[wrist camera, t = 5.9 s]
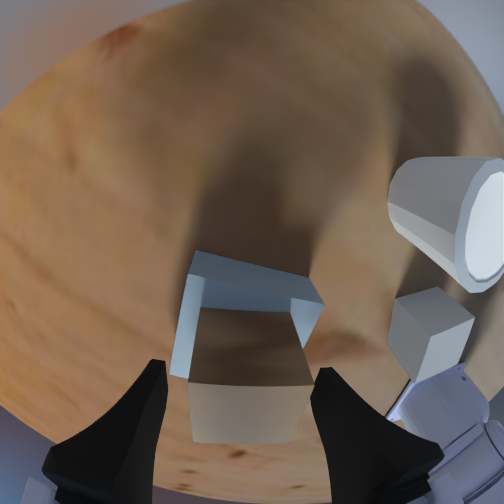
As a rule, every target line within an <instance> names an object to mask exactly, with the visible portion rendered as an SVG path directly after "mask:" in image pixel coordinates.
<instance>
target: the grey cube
mask: <svg viewBox="0 0 504 504" xmlns="http://www.w3.org/2000/svg"><path fill="white" fill-rule="evenodd" d="M474 319H475V317H474V316H473V315H472V314H471V313H470V312H468V311H467V310H466V309H465V308H464V307H463V306H461V305H460V304H459V303H458V302H457V301H455V300H454V299H453V298H452V297H450V296H449V295H448V294H447V293H446V292H444V291H443V290H442V289H440V288H439V287H438V286H437V287H433V288H430V289H427V290H423V291H420V292H416V293H413V294H409V295H406V296H402V297H398V298H395V300H394V306H393V312H392V318H391V324H390V329H389V335H388V340H387V346H388V347H389V349H390V350H391V351H392V353H393V354H394V356H395V357H396V358H397V360H398V361H399V363H400V364H401V366H402V367H403V368H404V370H405V371H406V373H407V374H408V376H409V377H410V379H411V380H412V382H413V383H414V384H416V383H418V382H421V381H423V380H425V379H428V378H430V377H432V376H434V375H436V374H438V373H440V372H443V371H445V370H447V369H449V368H451V367H453V366H454V365H456V364H458V361H459V359H460V357H461V354H462V352H463V349H464V347H465V344H466V342H467V339H468V336H469V334H470V331H471V328H472V325H473V322H474Z"/></svg>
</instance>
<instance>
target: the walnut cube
mask: <svg viewBox="0 0 504 504" xmlns="http://www.w3.org/2000/svg"><path fill="white" fill-rule="evenodd" d="M314 386H315V384H314V381H313V378H312V375H311V372H310V369H309V366H308V363H307V360H306V357H305V354H304V351H303V348H302V345H301V342H300V339H299V336H298V334H297V331H296V328H295V325H294V322H293V319H292V316H291V313H287V312H263V311H245V310H230V309H216V308H203V307H200V312H199V317H198V323H197V329H196V334H195V340H194V346H193V352H192V358H191V365H190V371H189V378H188V393H189V405H190V417H191V427H192V437H193V442H203V443H217V444H281V443H290V441H291V439H292V437H293V435H294V432H295V430H296V428H297V426H298V424H299V421H300V419H301V417H302V415H303V412H304V410H305V408H306V405H307V403H308V401H309V398H310V396H311V393H312V391H313V388H314Z"/></svg>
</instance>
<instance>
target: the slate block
mask: <svg viewBox="0 0 504 504" xmlns="http://www.w3.org/2000/svg"><path fill="white" fill-rule="evenodd" d="M324 305H325V304H324V302H323V301H322V299H321V297H320V295H319V294H318V292H317V290H316V289H315V287H314V285H313V284H312V282H311V280H310V279H309V278H308V277H304V276H300V275H296V274H292V273H288V272H283V271H279V270H275V269H271V268H267V267H263V266H259V265H255V264H251V263H247V262H243V261H238V260H234V259H230V258H226V257H222V256H218V255H214V254H210V253H206V252H202V251H198V250H196V251H195V254H194V257H193V260H192V263H191V266H190V269H189V272H188V276H187V281H186V286H185V290H184V295H183V300H182V305H181V310H180V316H179V321H178V326H177V332H176V337H175V343H174V349H173V355H172V361H171V367H170V375H174V376H179V377H183V378H189V371H190V365H191V358H192V352H193V346H194V340H195V334H196V329H197V323H198V317H199V312H200V307H203V308H216V309H230V310H245V311H263V312H287V313H291V316H292V319H293V322H294V325H295V328H296V331H297V334H298V336H299V339H300V342H301V345H302V348H304V346H305V344H306V342H307V340H308V338H309V336H310V334H311V332H312V330H313V328H314V326H315V324H316V322H317V320H318V318H319V315H320V313H321V311H322V309H323V307H324Z"/></svg>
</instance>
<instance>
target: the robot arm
mask: <svg viewBox="0 0 504 504" xmlns="http://www.w3.org/2000/svg"><path fill="white" fill-rule="evenodd" d="M465 366H466V363H465V362H463V363H459V364H456V365H454V366H453V367H451V368H449V369H447V370H445V371H443V372H440V373H438V374H436V375H434V376H432V377H430V378H428V379H425V380H423V381H421V382H418V383H416V384H414V383H413V382H412V380H411V381H410V382H409V384H408V385H407V387H406V389H405V390H404V392H403V393H402V395H401V396H400V398H399V399H398V401H397V402H396V404H395V405H394V406H393V408H392V409H391V411H390V412H389V413H388V415H387V416H386V417H384V416H382V415H381V414H380V413H378V412H377V411H376V410H374V409H373V408H372V407H371V406H370V405H369V404H368V403H366V402H365V401H364V400H363V399H362V398H361V397H360V396H359V395H358V394H357V393H356V392H355V391H354V390H353V389H352V388H351V387H350V386H349V385H348V384H347V383H346V382H345V381H344V380H343V378H342V377H341V376H340V375H339V374H338V373H337V372H336V371H335V370H334V369H333V368H332V367H328V368H320V370H319V373H318V375H317V378H316V380H315V383H314V384H315V386H314V388H313V391H312V393H311V396H310V400H311V406H312V412H313V415H314V419H315V422H316V425H317V428H318V431H319V434H320V437H321V440H322V443H323V446H324V450H325V454H326V459H327V464H328V470H329V477H330V485H331V495H332V504H504V472H502V474H500V475H499V476H498V477H497V478H495V479H494V480H493V481H492V482H491V483H489V484H488V485H487V486H485V487H484V488H483V489H481V490H480V491H479V492H477V493H476V494H474V495H473V496H472V497H470V498H469V499H467V500H465V501H463V500H464V499H466V498H468V497H469V496H470V495H472V494H473V493H474V492H476V491H477V490H479V489H480V488H481V487H483V486H484V485H485V484H487V483H488V482H489V481H490V480H492V479H493V478H494V477H495V476H497V475H498V474H499V473H500V472H501V471H502V470H504V427H503V426H502V425H501V424H500V423H499V422H498V421H497V420H489V421H488V422H487V420H488V417H489V405H488V401H487V399H486V398H485V396H484V395H483V394H482V392H481V391H480V390H479V389H478V387H477V386H476V385H475V384H474V382H473V381H472V380H471V379H470V378H469V376H468V375H467V374H466V373H465V372H464V368H465ZM167 395H168V383H167V374H166V364H165V361H162V360H155V359H152V360H150V361H149V363H148V365H147V366H146V367H145V369H144V370H143V372H142V373H141V374H140V376H139V377H138V378H137V380H136V381H135V382H134V384H133V385H132V386H131V387H130V388H129V390H128V391H127V392H126V393H125V394H124V395H123V396H122V397H121V399H120V400H119V401H118V402H117V403H116V404H115V405H114V406H113V407H112V408H111V409H110V410H109V411H107V412H106V413H105V414H104V415H103V416H102V417H100V418H99V419H98V420H97V421H95V422H94V423H93V424H92V425H90V426H89V427H87V428H86V429H84V430H83V431H81V432H79V433H78V434H76V435H75V436H73V437H71V438H69V439H67V440H65V441H63V442H61V443H59V444H57V445H55V446H53V447H51V448H50V450H49V452H48V454H47V456H46V458H45V461H44V464H43V467H42V472H43V474H44V475H45V476H46V477H47V478H48V479H50V480H51V481H52V482H53V483H54V484H56V485H57V486H58V489H57V491H55V490H54V489H52V488H50V487H48V486H46V485H44V484H42V483H40V482H38V481H36V480H34V479H33V478H31V477H30V478H29V479H28V482H27V485H26V488H25V491H24V494H23V497H22V501H21V504H152V485H153V471H154V460H155V452H156V446H157V442H158V438H159V433H160V429H161V425H162V421H163V417H164V413H165V409H166V403H167ZM400 419H401V420H402V422H403V424H404V425H405V427H406V429H407V431H406V430H404V429H402V428H401V427H399V426H397V425H396V424H394V423H392V421H396V420H400Z"/></svg>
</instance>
